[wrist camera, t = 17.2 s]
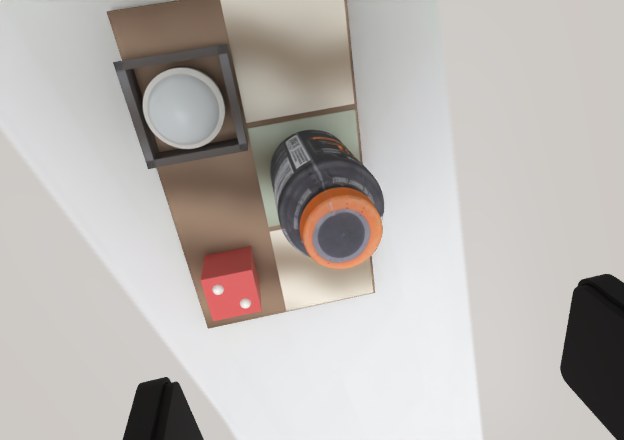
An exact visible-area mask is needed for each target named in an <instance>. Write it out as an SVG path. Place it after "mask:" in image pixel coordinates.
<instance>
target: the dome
mask: <svg viewBox="0 0 624 440" xmlns="http://www.w3.org/2000/svg"><path fill="white" fill-rule="evenodd" d="M225 111H226V103H225V97H224V94H223V92H222V89H221V88H220V86H219V84H218V83H217V82H216V80H215V79H214V78H213V77H211V76H210V75H209V74H208V73H206V72H204V71H203V70H200V69H198V68H195V67H190V66H178V67H174V68H171V69H169V70H167V71H164V72H162V73H160V74H159V75H157V76H156V77H155V78H154V79H153V80H152V81H151V82H150V83H149V85H148V86H147V88H146V90H145V93H144V97H143V113H144V117H145V120H146V122H147V124H148V126H149V128H150V129H151V130H152V132H153V133H154V134H155V135H156V136H157V137H158V138H159V139H160V140H162V141H163V142H165V143H167V144H168V145H171V146H173V147H177V148H181V149H194V148H198V147H201V146H204V145H206V144H207V143H209V142H210V141H212V140H213V139H214V138H215V137H216V136H217V134H218V133H219V131H220V129H221V127H222V125H223V121H224V117H225Z"/></svg>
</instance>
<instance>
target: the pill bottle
mask: <svg viewBox="0 0 624 440" xmlns="http://www.w3.org/2000/svg"><path fill="white" fill-rule="evenodd" d="M270 176H271V182H272V187H273V192H274V197H275V203H276V210H277V213H278V218H279V222H280V226H281V229H282V232H283V234H284V235H285V237H286V239H287V240H288V241H289V243H290V244H291V245H292V246H293V247H294V248H295V249H297V250H298V251H299V252H301V253H302V254H304V255H306V256H308V257H311V258H312V259H313V260H314V261H316V262H317V263H319V264H320V265H322V266H324V267H327V268H331V269H348V268H352V267H355V266H357V265H359V264H361V263H363V262H364V261H365V260H367V259H368V258H369V257H370V256H371V255H372V254H373V253H374V252H375V250H376V249H377V247H378V245H379V243H380V241H381V237H382V231H383V227H382V219H383V213H384V199H383V194H382V191H381V188H380V186H379V184H378V182H377V181H376V179H375V178H374V176H373V175H372V174H371V173H370V172H369V171H368V170H367V168H365V167H364V165H363V164H361V162H360V161H359V160H358V159H357V158H356V157H355V156H354V155H353V154H352V153H351V152H350V151H349V150H348V149H347V147H346V146H345V145H344V144H343V143H342V142H341V141H340V140H339V139H338V138H337V137H335V136H334V135H332V134H330V133H328V132H325V131H320V130H304V131H300V132H297V133H294V134H292V135H291V136H289V137H287V138H286V139H285V140H284V141H283V142H282V143H281V144H280V145H279V146H278V148H277V149H276V151H275V153H274V155H273V157H272V161H271V166H270Z"/></svg>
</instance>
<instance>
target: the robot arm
mask: <svg viewBox="0 0 624 440" xmlns="http://www.w3.org/2000/svg"><path fill="white" fill-rule="evenodd" d="M560 370H561V374H562V376H563V378H564V380H565V382H566V383H567V384H568V385H569V387H570V388H571V389H572V390H573V391H574V392H575V393H576V394H577V396H578V397H579V398H580V399H581V400H582V401H583V402H584V403H585V405H586V406H587V407H588V408H589V409H590V410H591V411H592V412H593V413H594V415H595V416H596V417H597V418H598V419H599V420H600V421H601V422H602V424H603V425H604V426H605V427H606V428H607V429H608V430H609V431H610V433H611V434H612V435H613V436H614V437H615V438H616V439H617V440H624V283H623V282H622V281H620V280H619V279H617V278H616V277H614V276H612V275H610V274H603V275H600V276H595V277H591V278H586V279H583V280H581V281H580V282H579V284H578V286H577V287H576V288H575V289H574V291H573V296H572V302H571V308H570V314H569V320H568V325H567V332H566V337H565V343H564V349H563V355H562V360H561V366H560ZM123 440H203V437H202V435H201V432H200V430H199V428H198V426H197V423H196V421H195V419H194V416H193V414H192V412H191V410H190V407H189V405H188V403H187V400H186V398H185V396H184V394H183V391H182V389H181V387H180V385H179V383H178V382H173V383H171V382H170V380H169V378H167V377H164V378H160V379H156V380H151V381H147V382H143V383H140V384H139V385H138V387H137V390H136V394H135V397H134V401H133V405H132V409H131V412H130V415H129V419H128V423H127V426H126V430H125V433H124V437H123Z"/></svg>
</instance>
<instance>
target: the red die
mask: <svg viewBox="0 0 624 440" xmlns="http://www.w3.org/2000/svg"><path fill="white" fill-rule="evenodd" d="M200 281H201V284H202V287H203V290H204V294H205V297H206V300H207V303H208V306H209V310H210V313H211V316H212V319H213V321H218V320H222V319H227V318H232V317H236V316H241V315H246V314H250V313H255V312H260V311H262V306H261V292H260V282H259V278H258V274H257V270H256V266H255V261H254V257H253V253H252V249H251V246H249V247H244V248H239V249H234V250H229V251H225V252H220V253H215V254H210V255H205V257H204V263H203V268H202V274H201V280H200Z"/></svg>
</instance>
